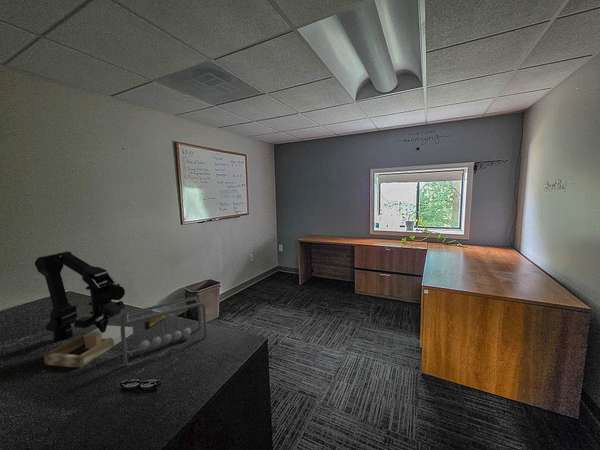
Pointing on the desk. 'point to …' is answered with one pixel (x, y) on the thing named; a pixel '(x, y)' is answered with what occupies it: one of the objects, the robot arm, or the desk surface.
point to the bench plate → (113, 333)
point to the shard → (156, 320)
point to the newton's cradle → (167, 337)
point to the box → (62, 357)
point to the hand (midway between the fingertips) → (103, 332)
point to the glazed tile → (92, 340)
